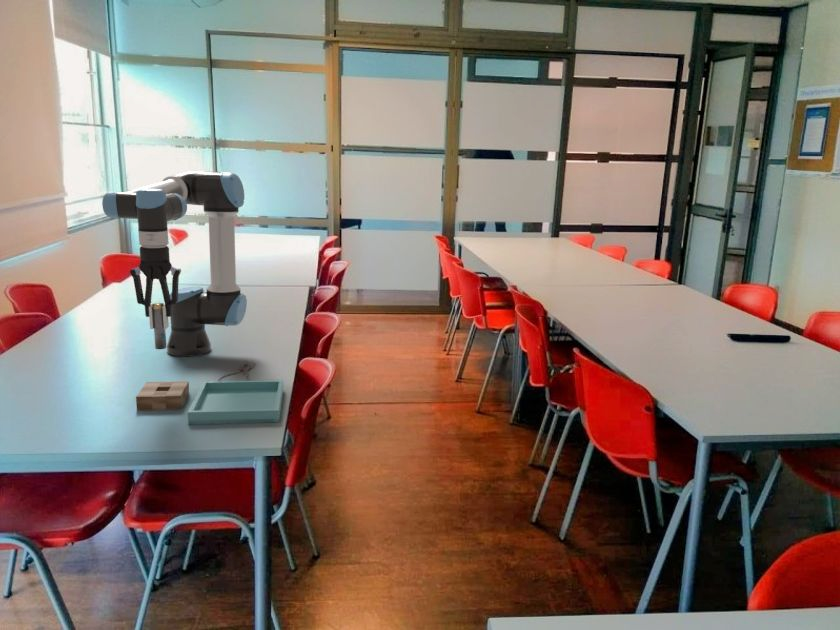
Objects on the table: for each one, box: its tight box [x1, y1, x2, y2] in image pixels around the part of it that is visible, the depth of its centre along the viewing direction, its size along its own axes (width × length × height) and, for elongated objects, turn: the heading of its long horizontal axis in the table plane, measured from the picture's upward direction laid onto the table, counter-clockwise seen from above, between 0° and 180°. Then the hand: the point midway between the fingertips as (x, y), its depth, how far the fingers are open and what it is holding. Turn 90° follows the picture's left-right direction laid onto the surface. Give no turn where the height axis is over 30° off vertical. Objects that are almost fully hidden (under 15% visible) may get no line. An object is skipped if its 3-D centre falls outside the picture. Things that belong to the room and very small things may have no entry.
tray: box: [187, 379, 284, 425], centre depth 187 cm, size 24×24×4 cm
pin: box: [151, 302, 167, 350], centre depth 184 cm, size 3×3×13 cm
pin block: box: [135, 380, 190, 411], centre depth 189 cm, size 12×12×4 cm
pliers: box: [217, 362, 256, 381], centre depth 215 cm, size 10×1×20 cm
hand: (159, 327), depth 184 cm, fingers closed on pin, 3 cm apart
